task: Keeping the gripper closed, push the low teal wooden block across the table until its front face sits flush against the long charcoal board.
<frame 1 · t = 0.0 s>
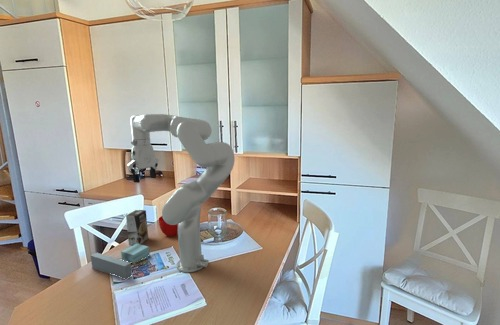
hand: (145, 180, 133), 37 cm above the table, tool pointing down, fingers open, 9 cm apart
ceramic cup: (174, 235, 161), on the table
coffee box: (139, 241, 154), on the table
board: (111, 272, 124), on the table
block: (136, 259, 135), on the table
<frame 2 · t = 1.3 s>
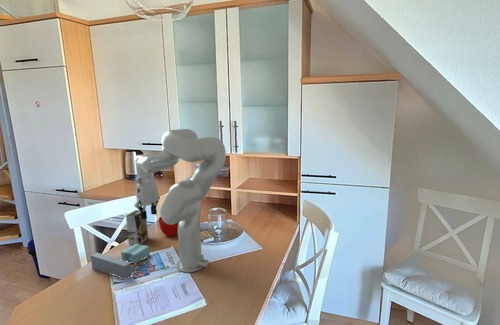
hand: (149, 216, 141), 18 cm above the table, tool pointing down, fingers open, 5 cm apart
nothing on the table moved.
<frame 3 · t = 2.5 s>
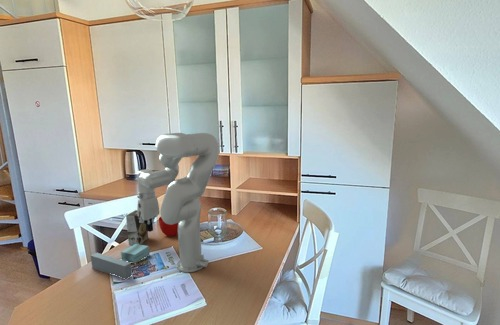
hand: (149, 230, 143), 10 cm above the table, tool pointing down, fingers closed
nothing on the table moved.
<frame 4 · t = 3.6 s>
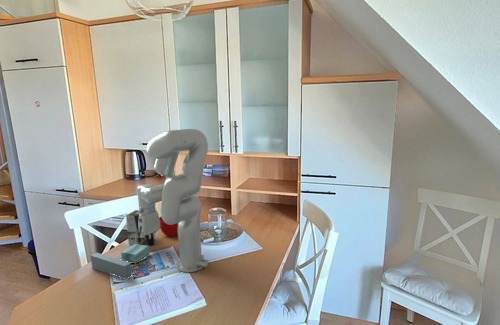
hand: (150, 245, 143), 3 cm above the table, tool pointing down, fingers closed
nothing on the table moved.
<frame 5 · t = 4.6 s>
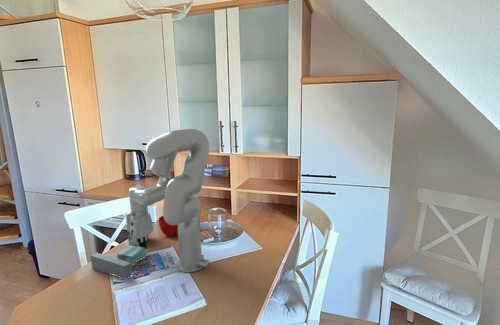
hand: (143, 248, 139), 3 cm above the table, tool pointing down, fingers closed
block: (132, 260, 134), on the table, touching gripper
everything else where it was.
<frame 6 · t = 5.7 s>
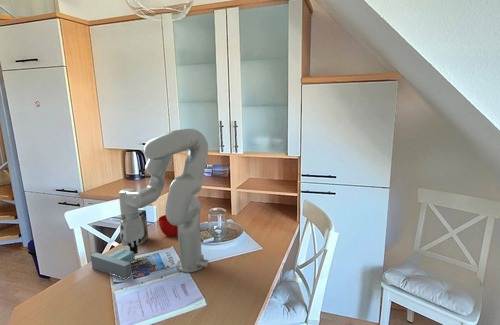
hand: (134, 253, 134), 3 cm above the table, tool pointing down, fingers closed
block: (121, 264, 130), on the table, touching board, gripper
everything else where it was.
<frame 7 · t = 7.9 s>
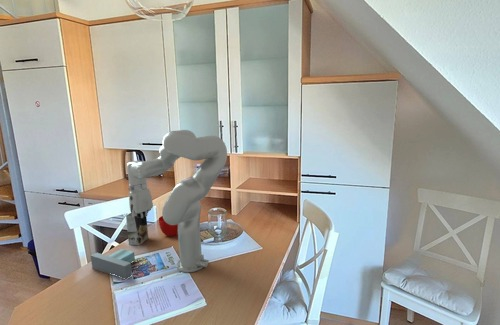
hand: (143, 225, 137), 15 cm above the table, tool pointing down, fingers closed
block: (120, 265, 130), on the table
everything else where it was.
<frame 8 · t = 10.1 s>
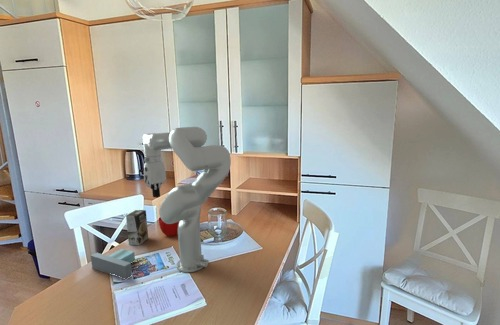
hand: (156, 196, 139), 27 cm above the table, tool pointing down, fingers closed
nothing on the table moved.
at the end: block inside the target area on the table beside the board (1.8 cm from its centre), on the table; block tilted 0° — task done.
